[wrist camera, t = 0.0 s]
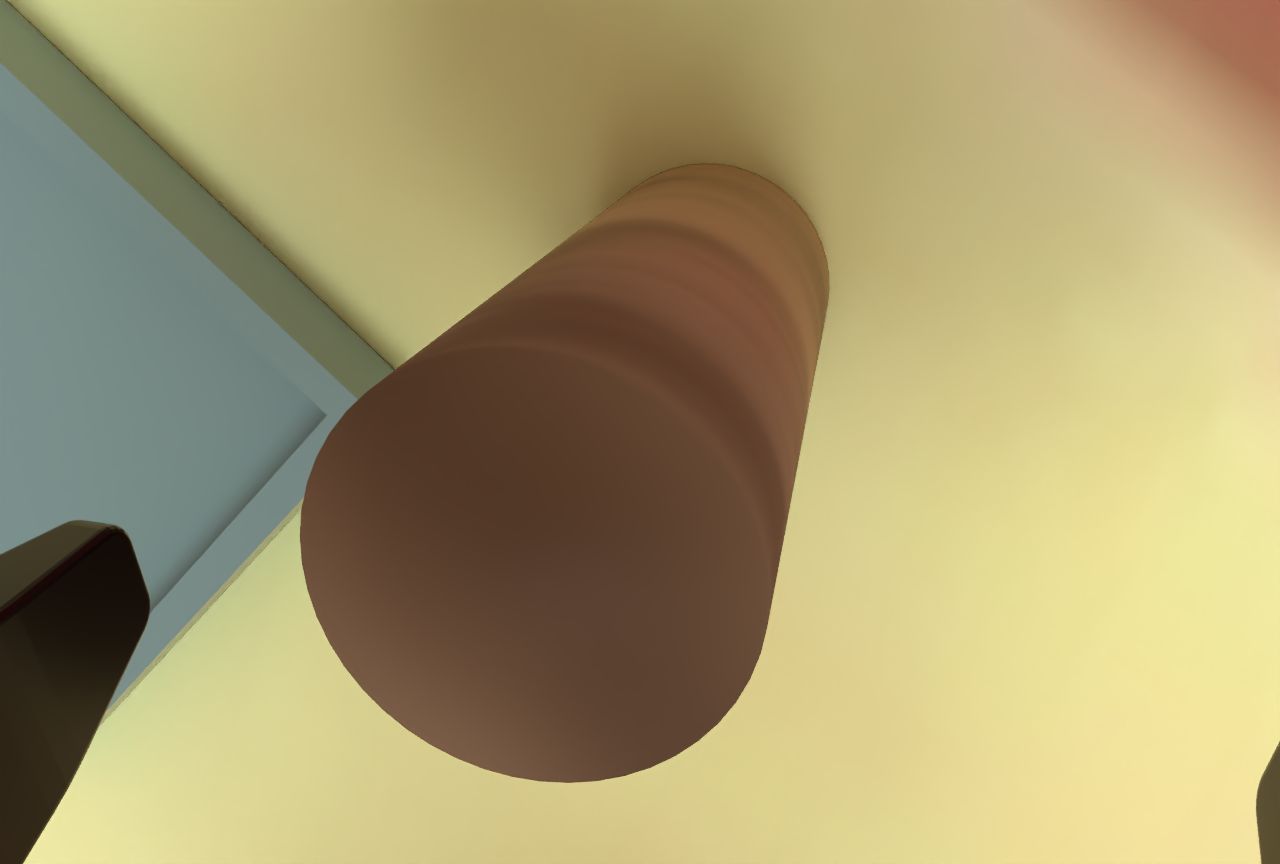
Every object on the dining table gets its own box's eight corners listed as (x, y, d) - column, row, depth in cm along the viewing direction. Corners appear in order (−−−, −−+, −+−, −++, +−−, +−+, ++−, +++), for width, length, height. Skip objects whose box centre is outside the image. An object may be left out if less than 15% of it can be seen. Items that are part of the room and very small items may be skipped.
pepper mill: (708, 445, 25) (545, 857, 13) (542, 282, 24) (214, 556, 12) (881, 290, 23) (876, 605, 11) (706, 109, 22) (503, 237, 10)
